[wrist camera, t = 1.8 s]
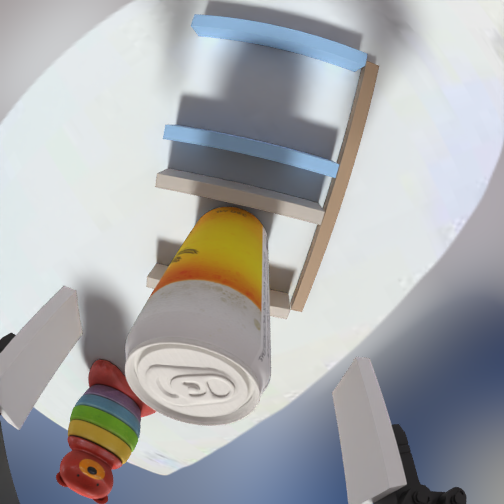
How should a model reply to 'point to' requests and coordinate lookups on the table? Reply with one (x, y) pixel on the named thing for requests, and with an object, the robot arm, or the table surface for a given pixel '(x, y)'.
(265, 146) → the rack
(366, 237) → the table surface
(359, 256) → the table surface
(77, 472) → the stacking bear
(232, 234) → the beer can
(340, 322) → the table surface
